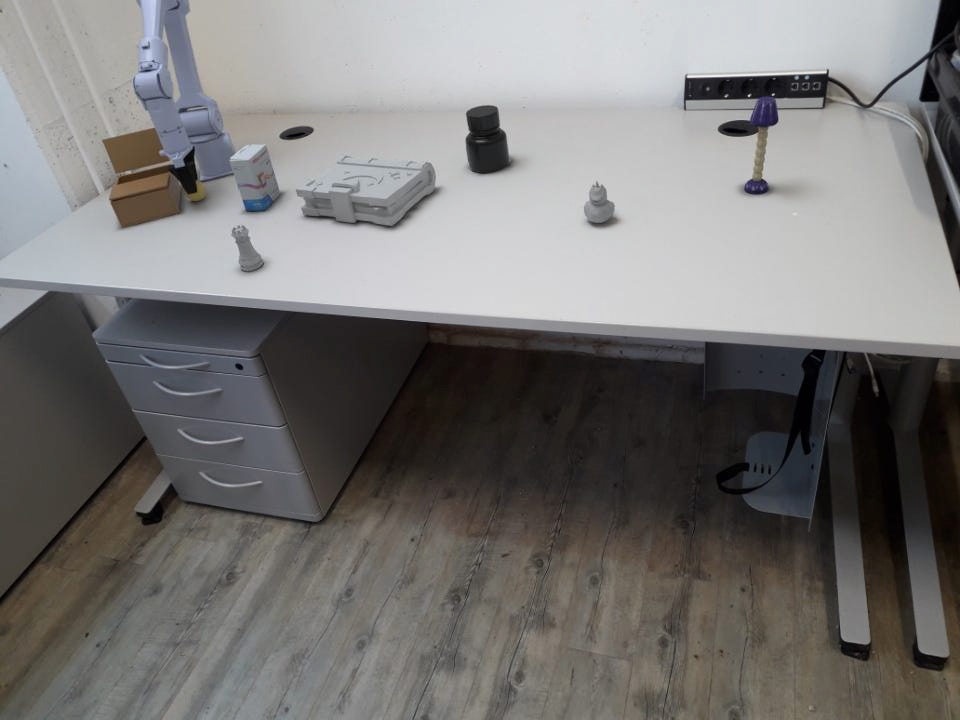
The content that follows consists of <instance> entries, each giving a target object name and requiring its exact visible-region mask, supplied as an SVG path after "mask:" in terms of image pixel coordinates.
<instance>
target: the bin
mask: <svg viewBox="0 0 960 720" xmlns="http://www.w3.org/2000/svg"><path fill="white" fill-rule="evenodd" d="M172 164H173V163H168V164H164V165H160V166H159V165H158V166H155V167H152V168H147V169H143V170H139V171H135V172H131V173H127V174H122V175H119V176H116V179H115V183H114V185H112V186H111V191H110V193H109V196H108V200H109V201H110V202H109V203H110V206H111V207H112V210H113V212H114V214H115V216H116V218H117V220H118V222H119V224H120V227H121V228H125V227H130V226H133V225H134V226H135V225H138V224H141V223H142V224H143V223H146V222H151V221H154V220H157V219H161V218H167V217H170V216H174V215H178V214H180V208H181V207H180V205H181V193H182V185H181V183H180V182H179V181H178V179H177V178H176V177H175V176H174V175H173V174H171V173H170V172H169V170H168V165H172Z"/></svg>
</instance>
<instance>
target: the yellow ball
mask: <svg viewBox="0 0 960 720" xmlns="http://www.w3.org/2000/svg"><path fill="white" fill-rule="evenodd" d="M196 185H197V193H193V194H189V195H188V194H187V192H186V191H185V190H184V189H183V193H184V196H185V197H186V198H187V199H188V200H190V201H192V202H199V201H201V200H203V199H204V198H205V196H206V192H207V190H206V187H205V185H204V184H203V183H202V181H200V180H197V181H196Z"/></svg>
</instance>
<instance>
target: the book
mask: <svg viewBox="0 0 960 720" xmlns="http://www.w3.org/2000/svg"><path fill="white" fill-rule="evenodd" d="M436 177H437V176H436V170H435V168H434V165H433V164H432V162H428V161H421V162H415V161H412V160H403V159H394V160H384V159H377V158H373V157H365V156H356V157H352V156H350V155H346V154H345V155H341V156H340V157H338V160H337V161H336V163H334V164H333V165H332V166H330V167H329V168H327V169H326V170H324V171H322V172H321V173H320V174H318V175H317V176H315V177H314V178H311V179H309V180H307V181H305V182H304V183H302V184H300V185H299V186H298V187H296V188H295V189H294V190H295V192H296V196H297V197H298V198H302V199H303V200H304V201H305V203H304V204H303V205H302V206H301V207H300V208H301V209H300V210H301V212H302V215H303V216H304V215H305V216H312V217H320V216H324V217H332V218H335V219H336V221H337V222H343V223H351V224H355V223H356V222H358V221H366V222H372V223H373V224H376V225H377V224H378V225H382V226H391V227H393V226H394V225H396V224H397V223H398V222H399V221H400V220H401V219H402V218H403V217H404V216H405V215H406V213H407V211H409V210H410V209H411V208H412V207H414V206H415V205H416V204H417V203H418V202H419V201H420V200H422V198H424V197H425V196H429V195H430V194H432V193H433V192H434V190H435V187H436V179H437V178H436Z"/></svg>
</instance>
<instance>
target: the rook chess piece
mask: <svg viewBox="0 0 960 720" xmlns="http://www.w3.org/2000/svg"><path fill="white" fill-rule="evenodd" d="M249 232H250V230H249V228H246V225H244V224H241V225H236V226H233V227H232V229H231V237H233V238H234V239H235V241H234V243H235V244H236V246H237V247H238V248H237V249H238V253H239V256H238V265H239V269H241V270H242V271H244V272H252V271H256V270H259V269H260V268H261V267H262V265H263V264H264V259H263V258H262V255H261V254H260V253H259V252H258V251H257V250H256V249H255V247H254V246H253V244H252V242H251V237H250V236H249Z"/></svg>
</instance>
